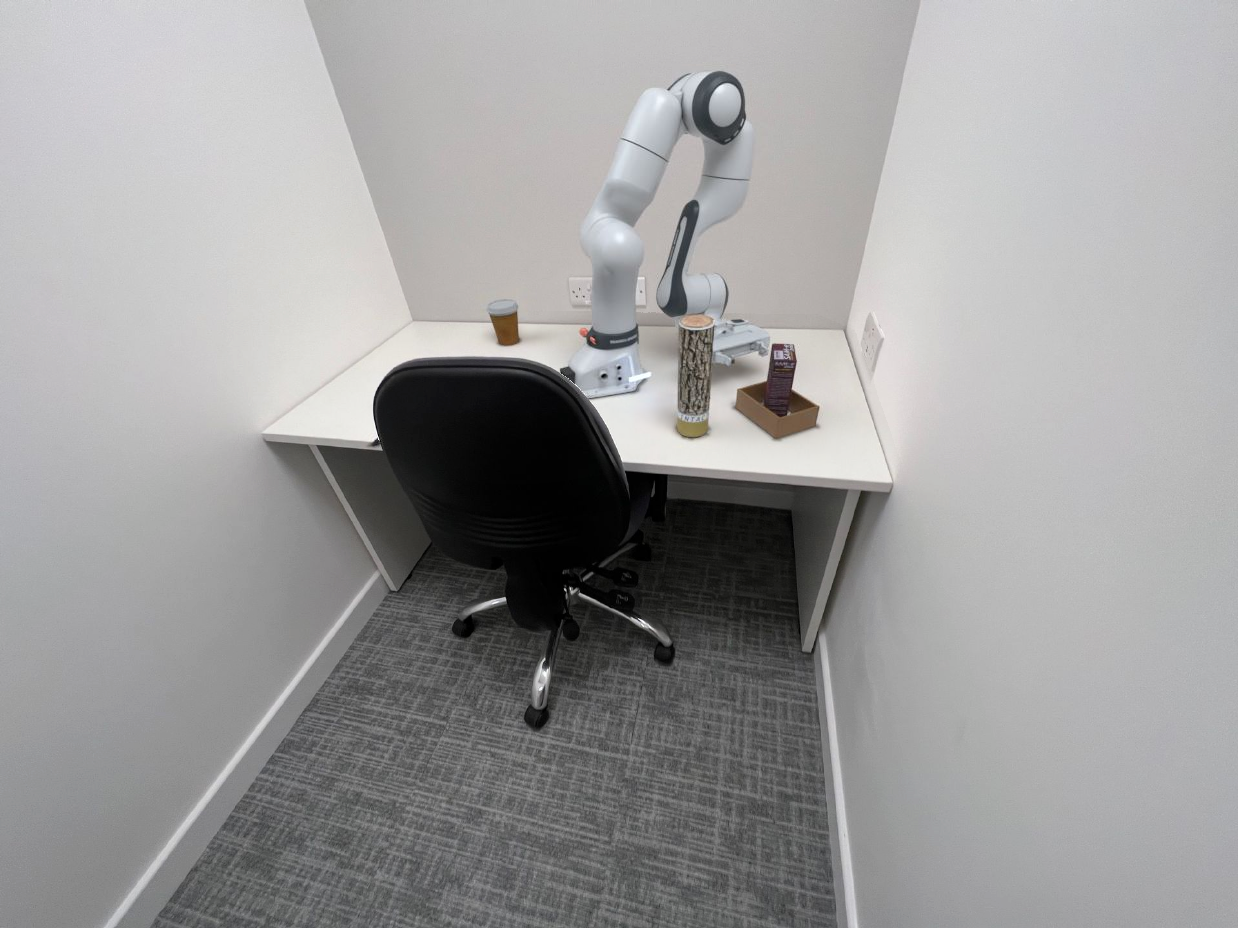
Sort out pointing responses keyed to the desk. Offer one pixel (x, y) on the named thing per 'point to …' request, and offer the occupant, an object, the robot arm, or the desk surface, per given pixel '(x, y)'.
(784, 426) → the cardboard box
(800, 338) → the desk surface
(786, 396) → the supplement box
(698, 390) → the paper tube
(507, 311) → the disposable coffee cup
